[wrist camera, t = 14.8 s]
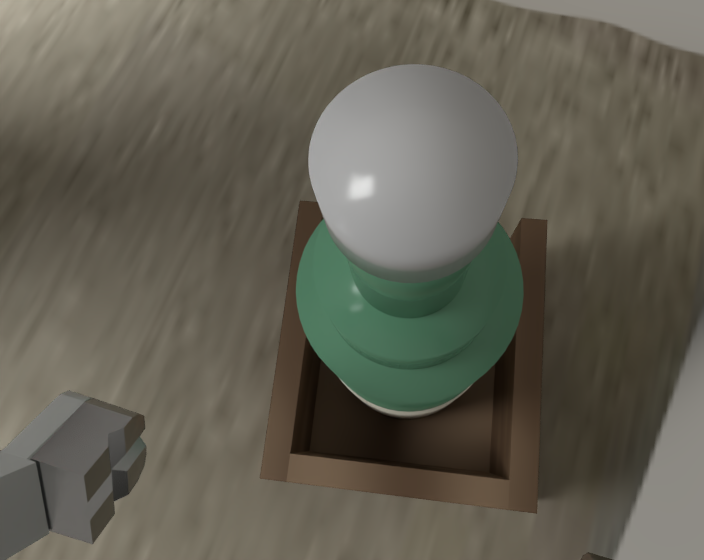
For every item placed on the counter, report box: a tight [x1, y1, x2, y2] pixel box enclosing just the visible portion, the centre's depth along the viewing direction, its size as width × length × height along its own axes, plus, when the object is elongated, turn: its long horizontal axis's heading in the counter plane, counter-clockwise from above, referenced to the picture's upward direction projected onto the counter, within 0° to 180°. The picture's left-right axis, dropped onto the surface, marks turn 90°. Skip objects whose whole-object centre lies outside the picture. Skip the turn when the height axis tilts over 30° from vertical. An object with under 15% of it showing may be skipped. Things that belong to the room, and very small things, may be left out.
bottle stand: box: [260, 201, 547, 513], centre depth 26 cm, size 12×11×6 cm
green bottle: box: [296, 64, 524, 420], centre depth 18 cm, size 6×6×21 cm
